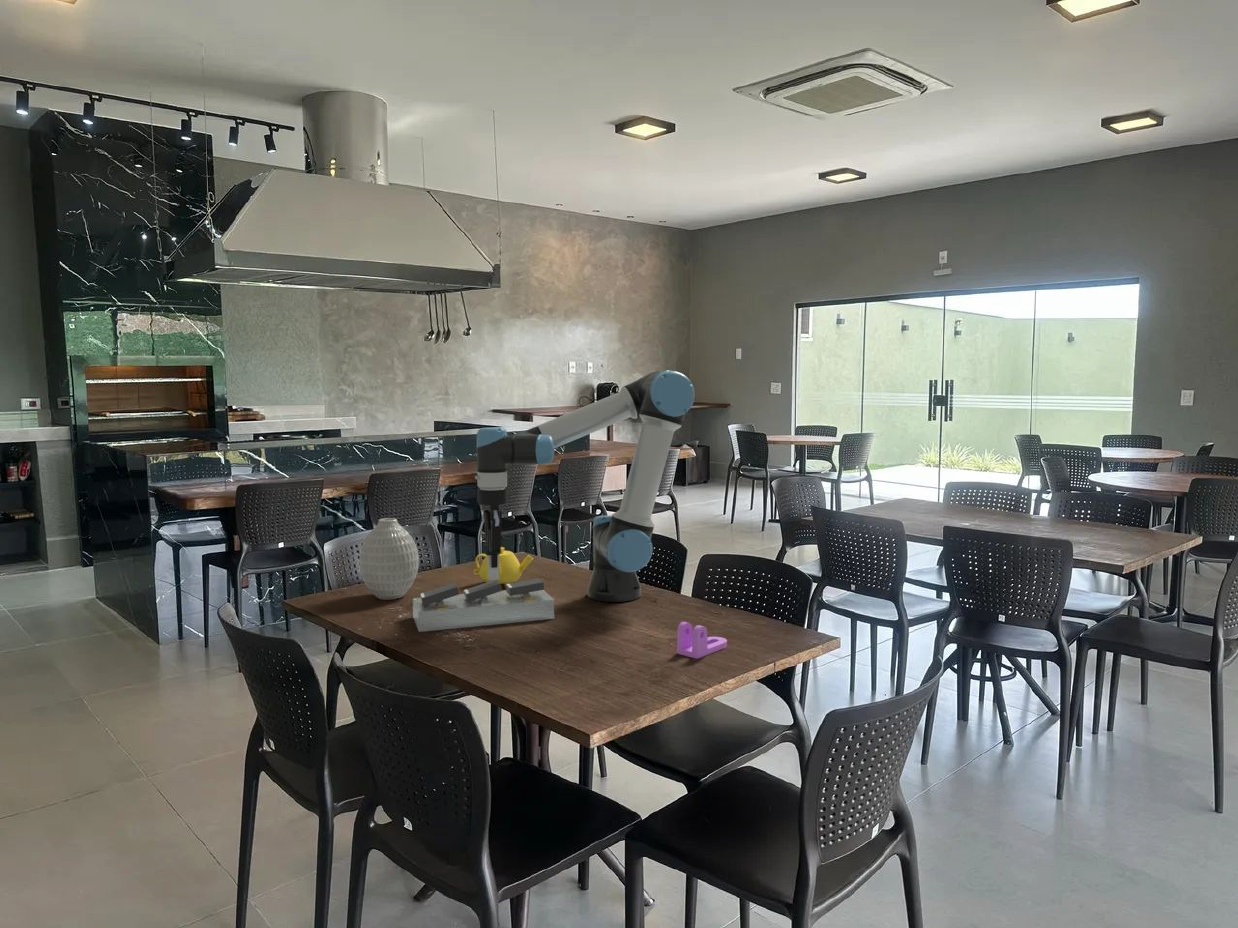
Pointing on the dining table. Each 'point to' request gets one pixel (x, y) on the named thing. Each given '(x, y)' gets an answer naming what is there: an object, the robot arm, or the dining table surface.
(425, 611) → the console
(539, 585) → the switch
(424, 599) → the switch
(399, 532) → the vase
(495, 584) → the switch
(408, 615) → the dining table surface
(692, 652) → the bracket
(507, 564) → the teapot
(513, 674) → the dining table surface
